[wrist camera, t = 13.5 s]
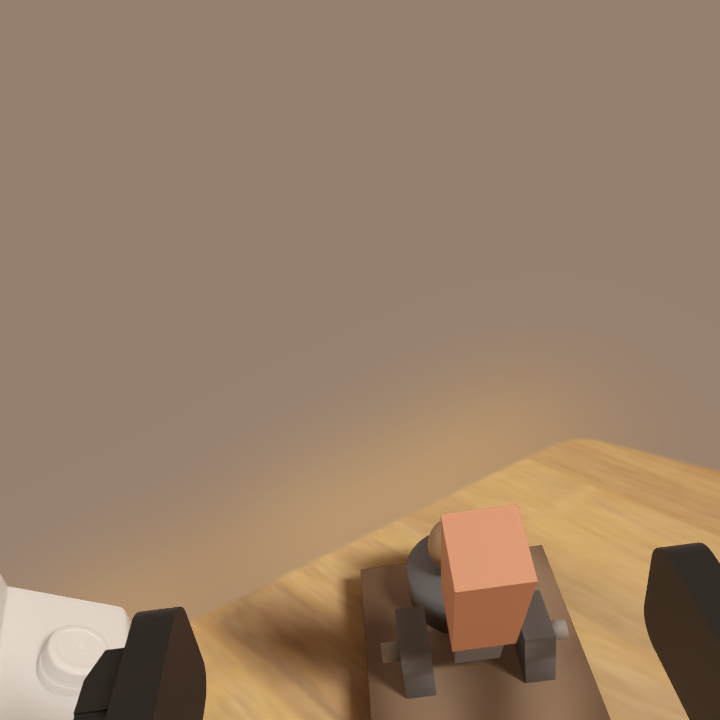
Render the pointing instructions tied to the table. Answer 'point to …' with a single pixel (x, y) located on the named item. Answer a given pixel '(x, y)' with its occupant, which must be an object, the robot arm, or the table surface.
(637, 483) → the table surface
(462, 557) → the lever
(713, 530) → the table surface
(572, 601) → the table surface
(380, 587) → the base
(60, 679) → the milk carton
